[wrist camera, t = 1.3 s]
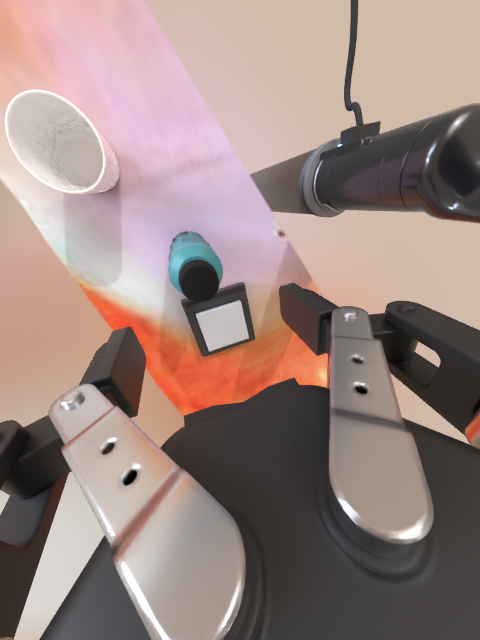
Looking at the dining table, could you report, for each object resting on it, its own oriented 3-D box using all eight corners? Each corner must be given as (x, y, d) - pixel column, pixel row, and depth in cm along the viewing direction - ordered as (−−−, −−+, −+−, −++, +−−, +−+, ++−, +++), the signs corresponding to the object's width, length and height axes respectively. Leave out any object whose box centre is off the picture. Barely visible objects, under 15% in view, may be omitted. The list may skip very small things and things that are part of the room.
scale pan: (195, 312, 41) (196, 315, 40) (239, 298, 42) (241, 301, 41) (208, 347, 46) (209, 351, 45) (247, 334, 47) (249, 338, 46)
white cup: (90, 207, 31) (59, 207, 22) (40, 143, 27) (-21, 115, 18) (136, 181, 31) (123, 172, 22) (94, 113, 27) (58, 71, 18)
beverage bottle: (210, 263, 40) (237, 307, 23) (174, 270, 38) (176, 321, 22) (203, 226, 36) (229, 245, 19) (164, 232, 35) (156, 258, 18)
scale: (181, 300, 41) (181, 306, 39) (242, 282, 43) (246, 286, 41) (201, 352, 49) (203, 360, 46) (253, 335, 50) (257, 342, 48)
